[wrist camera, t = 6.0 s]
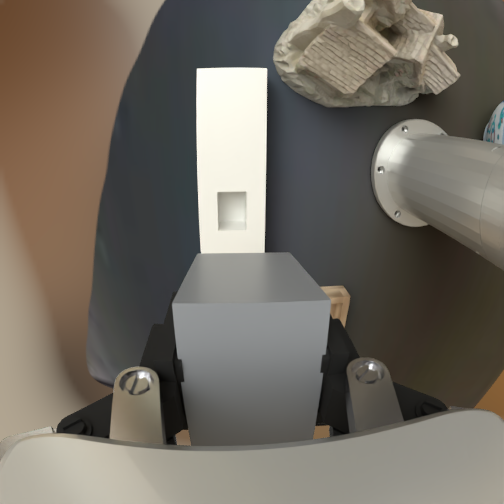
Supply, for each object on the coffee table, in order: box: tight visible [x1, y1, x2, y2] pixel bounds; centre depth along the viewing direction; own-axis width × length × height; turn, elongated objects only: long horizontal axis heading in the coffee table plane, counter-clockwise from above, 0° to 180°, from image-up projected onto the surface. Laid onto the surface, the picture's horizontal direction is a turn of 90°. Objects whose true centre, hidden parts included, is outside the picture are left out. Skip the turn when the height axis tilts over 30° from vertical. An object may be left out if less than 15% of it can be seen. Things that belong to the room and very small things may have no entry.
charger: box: [172, 252, 331, 446], centre depth 12 cm, size 4×6×8 cm, turn 179°
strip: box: [197, 68, 267, 254], centre depth 28 cm, size 6×20×4 cm, turn 0°
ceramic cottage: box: [273, 0, 460, 107], centre depth 20 cm, size 16×16×15 cm
